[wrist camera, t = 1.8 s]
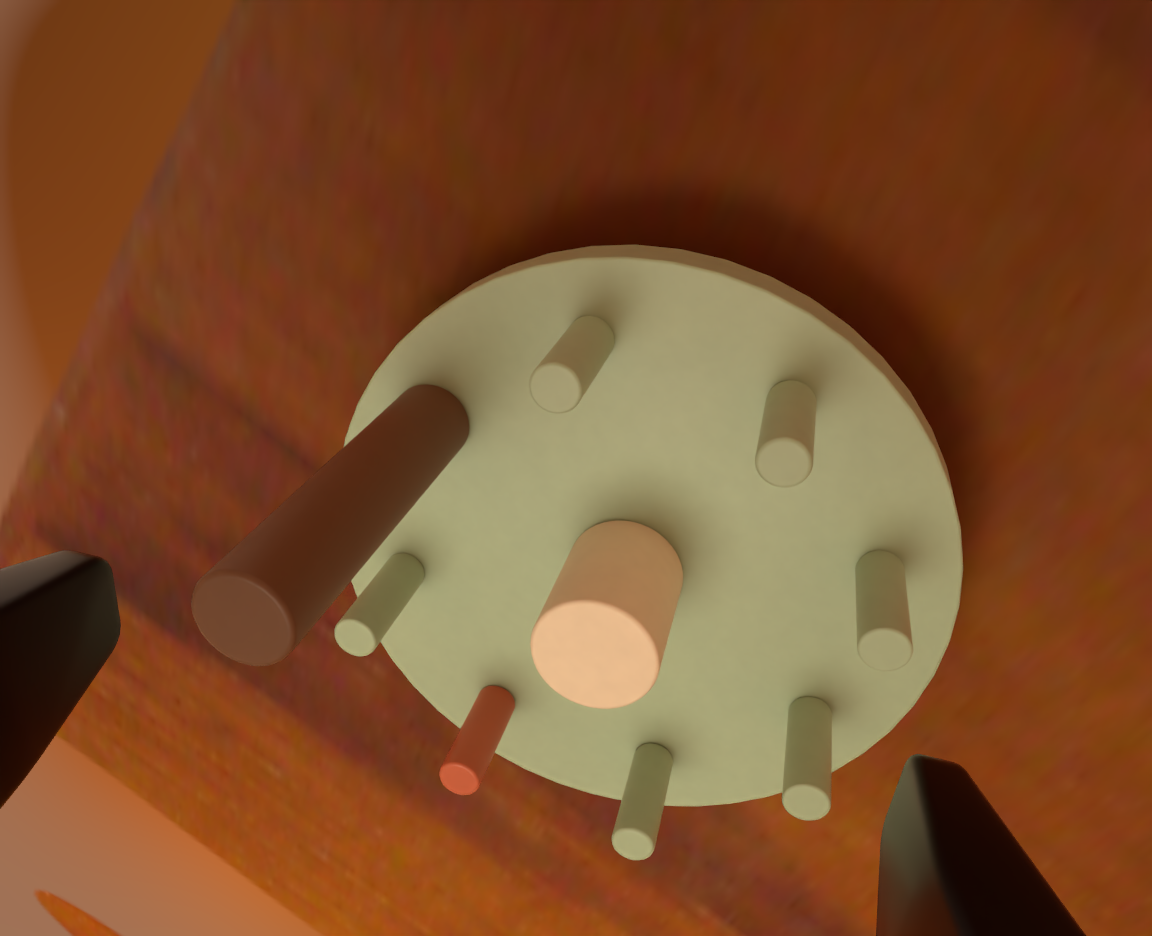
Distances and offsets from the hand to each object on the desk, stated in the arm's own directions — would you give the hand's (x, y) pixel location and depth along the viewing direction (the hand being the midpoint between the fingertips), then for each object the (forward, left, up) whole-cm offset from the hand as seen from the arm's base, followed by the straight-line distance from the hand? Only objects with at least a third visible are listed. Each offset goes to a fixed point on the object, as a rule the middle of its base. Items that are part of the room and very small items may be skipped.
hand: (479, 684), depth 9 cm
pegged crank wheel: (-3, +4, -11) cm, 12 cm away
